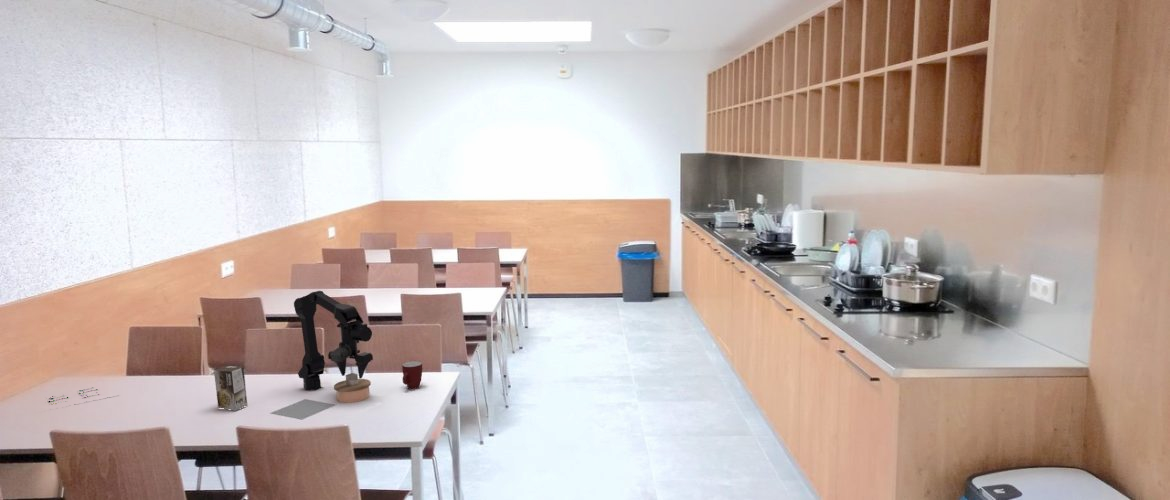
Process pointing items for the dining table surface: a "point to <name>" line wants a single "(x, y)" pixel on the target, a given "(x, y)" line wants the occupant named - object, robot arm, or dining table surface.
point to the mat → (303, 409)
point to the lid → (352, 383)
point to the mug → (412, 374)
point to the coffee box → (230, 387)
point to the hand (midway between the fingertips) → (352, 376)
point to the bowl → (353, 395)
